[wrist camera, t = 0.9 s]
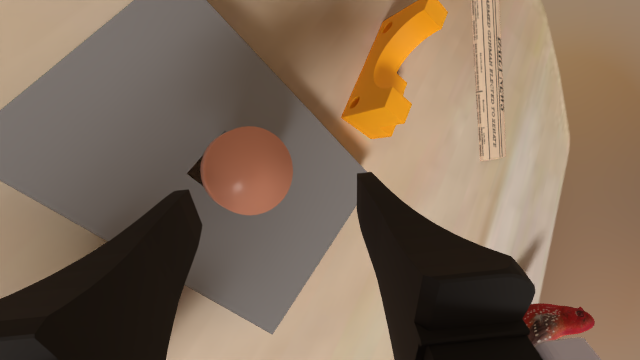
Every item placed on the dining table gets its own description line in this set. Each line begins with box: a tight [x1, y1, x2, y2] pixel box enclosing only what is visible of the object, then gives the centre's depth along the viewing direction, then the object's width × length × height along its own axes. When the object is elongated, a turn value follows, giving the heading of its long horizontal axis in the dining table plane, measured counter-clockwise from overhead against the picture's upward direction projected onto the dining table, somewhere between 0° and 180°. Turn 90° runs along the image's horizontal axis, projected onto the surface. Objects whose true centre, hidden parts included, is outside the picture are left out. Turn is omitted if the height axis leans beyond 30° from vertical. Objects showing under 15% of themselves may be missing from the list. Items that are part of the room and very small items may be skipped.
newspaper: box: [471, 0, 506, 161], centre depth 42 cm, size 24×7×2 cm, turn 6°
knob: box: [200, 126, 293, 215], centre depth 19 cm, size 5×5×5 cm
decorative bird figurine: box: [523, 304, 594, 346], centre depth 41 cm, size 3×18×10 cm, turn 109°
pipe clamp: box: [341, 0, 448, 139], centre depth 29 cm, size 12×4×6 cm, turn 151°
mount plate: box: [0, 0, 366, 334], centre depth 23 cm, size 16×22×3 cm
